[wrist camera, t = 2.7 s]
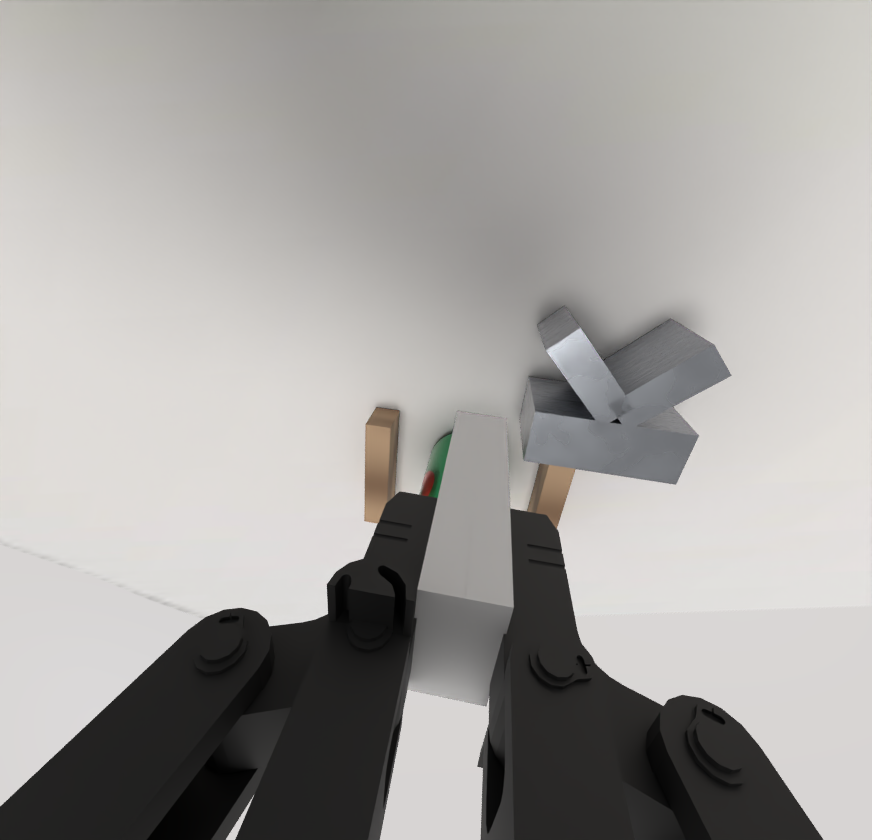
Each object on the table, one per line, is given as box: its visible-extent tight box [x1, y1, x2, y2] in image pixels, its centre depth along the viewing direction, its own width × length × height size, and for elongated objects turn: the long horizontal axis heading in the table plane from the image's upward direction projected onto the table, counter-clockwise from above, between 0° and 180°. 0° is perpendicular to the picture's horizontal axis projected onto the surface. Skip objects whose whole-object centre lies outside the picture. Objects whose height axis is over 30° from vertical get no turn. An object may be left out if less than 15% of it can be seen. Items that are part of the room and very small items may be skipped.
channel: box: [364, 407, 575, 529], centre depth 27 cm, size 8×13×2 cm, turn 85°
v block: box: [520, 306, 731, 485], centre depth 22 cm, size 8×8×5 cm
